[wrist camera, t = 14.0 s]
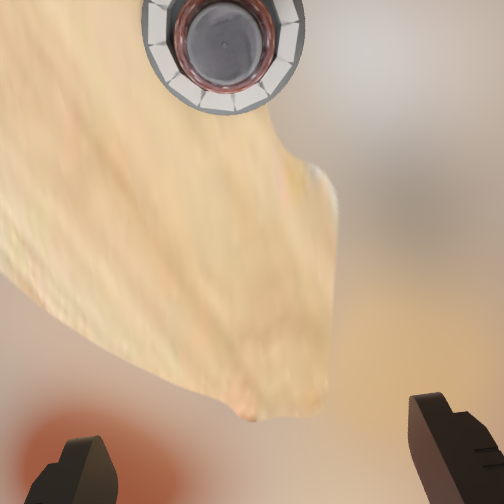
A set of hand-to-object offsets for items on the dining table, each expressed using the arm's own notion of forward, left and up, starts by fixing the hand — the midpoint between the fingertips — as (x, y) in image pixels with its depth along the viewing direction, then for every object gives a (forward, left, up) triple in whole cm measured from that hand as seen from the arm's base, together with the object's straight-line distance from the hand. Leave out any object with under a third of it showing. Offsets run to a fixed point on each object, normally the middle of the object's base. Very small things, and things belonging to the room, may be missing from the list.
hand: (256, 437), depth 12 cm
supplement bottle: (-6, -6, -29) cm, 31 cm away
